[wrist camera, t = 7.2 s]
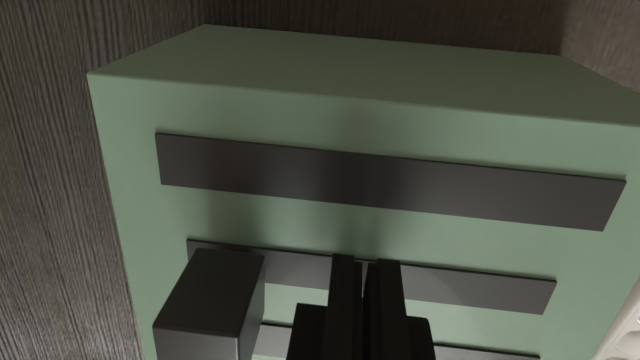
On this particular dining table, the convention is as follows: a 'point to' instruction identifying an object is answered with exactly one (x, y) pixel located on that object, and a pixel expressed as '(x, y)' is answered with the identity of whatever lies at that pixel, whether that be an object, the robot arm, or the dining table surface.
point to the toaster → (380, 181)
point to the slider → (213, 308)
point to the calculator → (623, 331)
